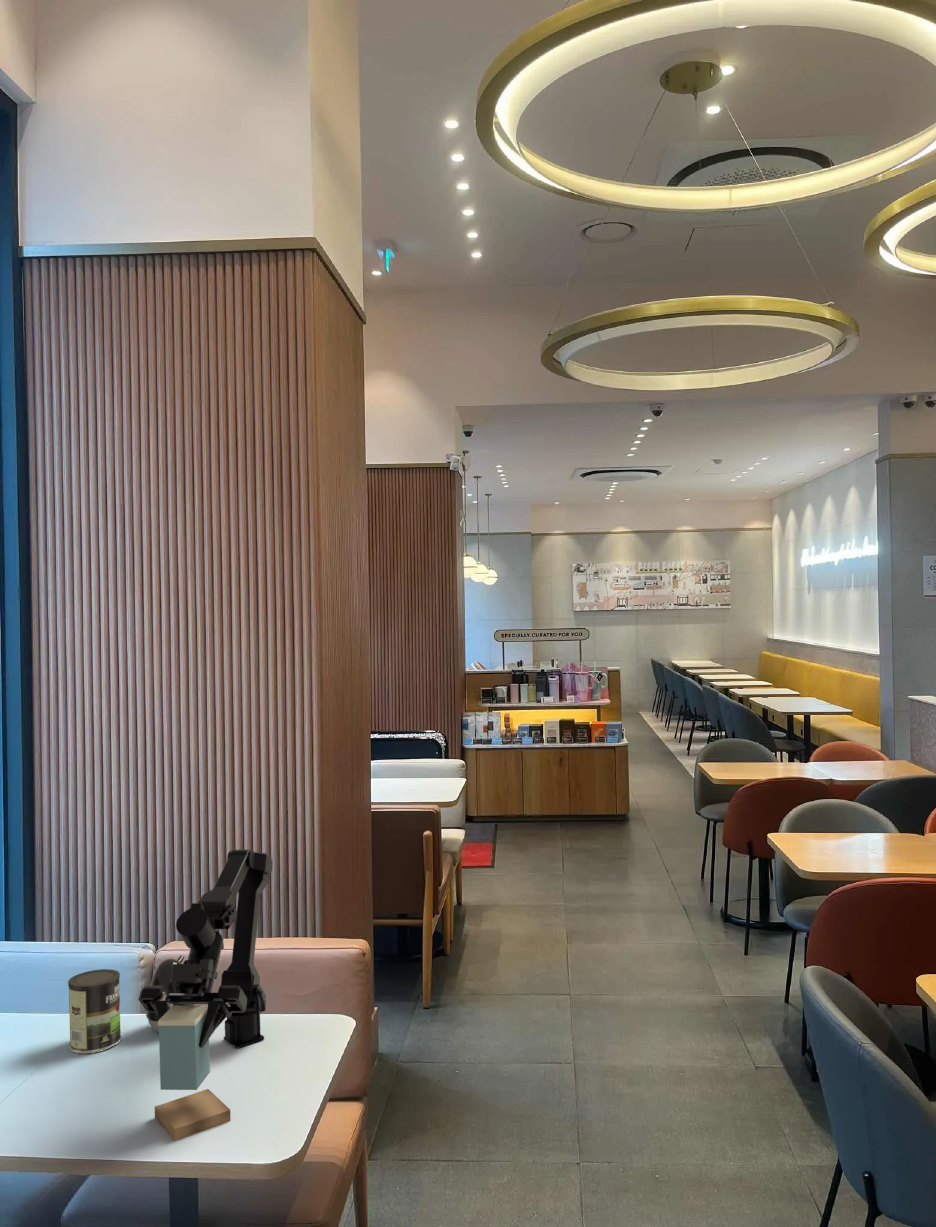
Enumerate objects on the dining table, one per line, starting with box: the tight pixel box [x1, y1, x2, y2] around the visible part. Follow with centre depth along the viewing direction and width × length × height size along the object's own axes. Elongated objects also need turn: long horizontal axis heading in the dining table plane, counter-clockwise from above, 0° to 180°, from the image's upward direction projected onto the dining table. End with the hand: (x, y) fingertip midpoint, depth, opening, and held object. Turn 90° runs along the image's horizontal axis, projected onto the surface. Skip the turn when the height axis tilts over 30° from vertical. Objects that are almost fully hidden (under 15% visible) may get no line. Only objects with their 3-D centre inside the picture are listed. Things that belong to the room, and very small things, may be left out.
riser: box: [154, 1088, 231, 1142], centre depth 166 cm, size 10×10×2 cm
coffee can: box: [67, 968, 122, 1054], centre depth 199 cm, size 10×10×14 cm
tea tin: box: [158, 1005, 211, 1091], centre depth 166 cm, size 7×7×12 cm
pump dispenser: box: [145, 954, 195, 1033], centre depth 206 cm, size 10×10×15 cm
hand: (181, 1047), depth 165 cm, fingers closed on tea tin, 6 cm apart
